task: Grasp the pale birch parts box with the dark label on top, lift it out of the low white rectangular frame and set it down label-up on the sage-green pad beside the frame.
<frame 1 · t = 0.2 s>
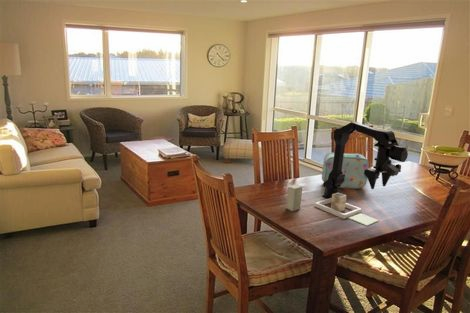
hand: (378, 187, 176), 14 cm above the table, fingers open, 9 cm apart
sage pad: (363, 219, 172), on the table
skincare box: (293, 209, 182), on the table
birch parts box: (338, 202, 183), in the white rectangular frame
lunch box: (343, 186, 220), on the table
white rectangular frame: (337, 209, 184), on the table
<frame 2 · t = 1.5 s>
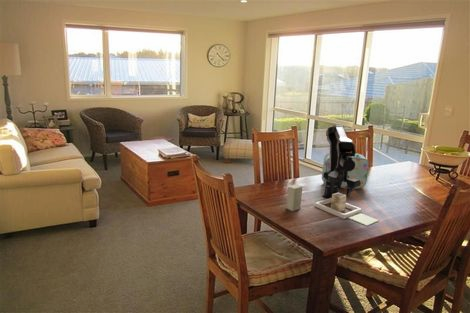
hand: (339, 194, 182), 8 cm above the table, fingers open, 9 cm apart
nothing on the table moved.
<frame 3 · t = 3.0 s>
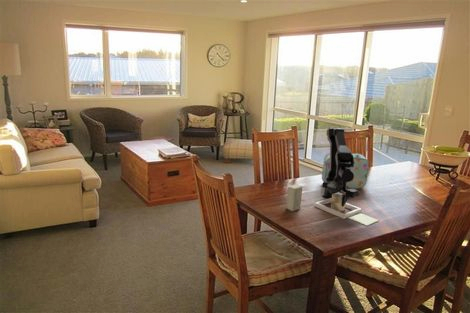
hand: (338, 204, 183), 3 cm above the table, fingers closed on birch parts box, 5 cm apart
birch parts box: (338, 201, 183), in the white rectangular frame, touching gripper
everything else where it was.
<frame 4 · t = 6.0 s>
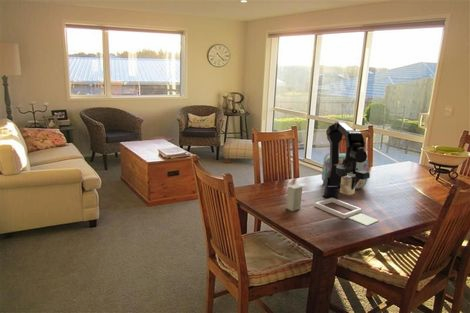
hand: (347, 188, 177), 13 cm above the table, fingers closed on birch parts box, 5 cm apart
birch parts box: (347, 185, 177), point 14 cm above the table, touching gripper
everything else where it was.
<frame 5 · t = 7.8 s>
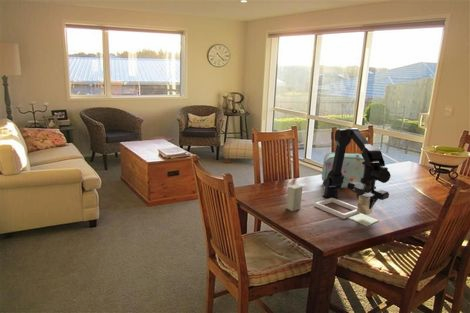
hand: (365, 207, 171), 7 cm above the table, fingers closed on birch parts box, 5 cm apart
birch parts box: (365, 204, 170), point 8 cm above the table, touching gripper
everything else where it was.
when the fingers open (4 cm above the table, at t = 9.1 s): birch parts box stays where it is, resting on sage pad.
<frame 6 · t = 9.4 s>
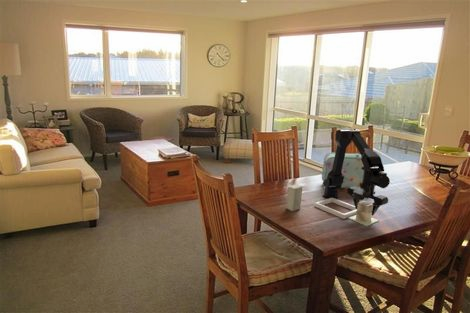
hand: (364, 212, 171), 4 cm above the table, fingers open, 8 cm apart
birch parts box: (364, 210, 171), on the sage pad
everything else where it was.
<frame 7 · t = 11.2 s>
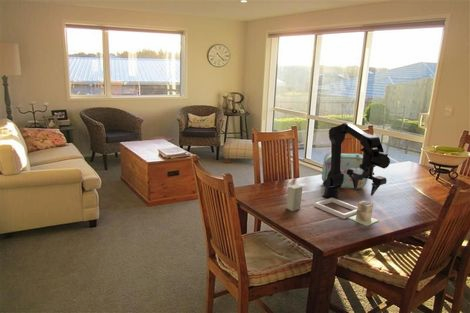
hand: (363, 192, 176), 11 cm above the table, fingers open, 9 cm apart
nothing on the table moved.
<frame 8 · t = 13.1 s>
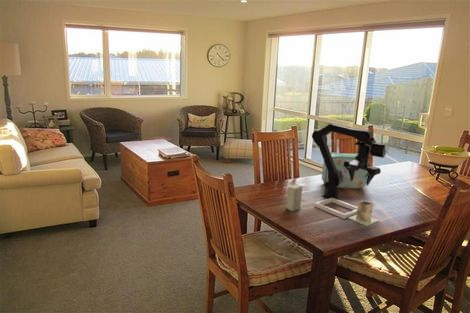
hand: (359, 182, 189), 12 cm above the table, fingers open, 9 cm apart
nothing on the table moved.
at the end: birch parts box 0.0 cm off-centre on the sage pad, point 4.6 cm above the sage pad's base; birch parts box tilted 0°; the gripper is holding nothing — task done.
